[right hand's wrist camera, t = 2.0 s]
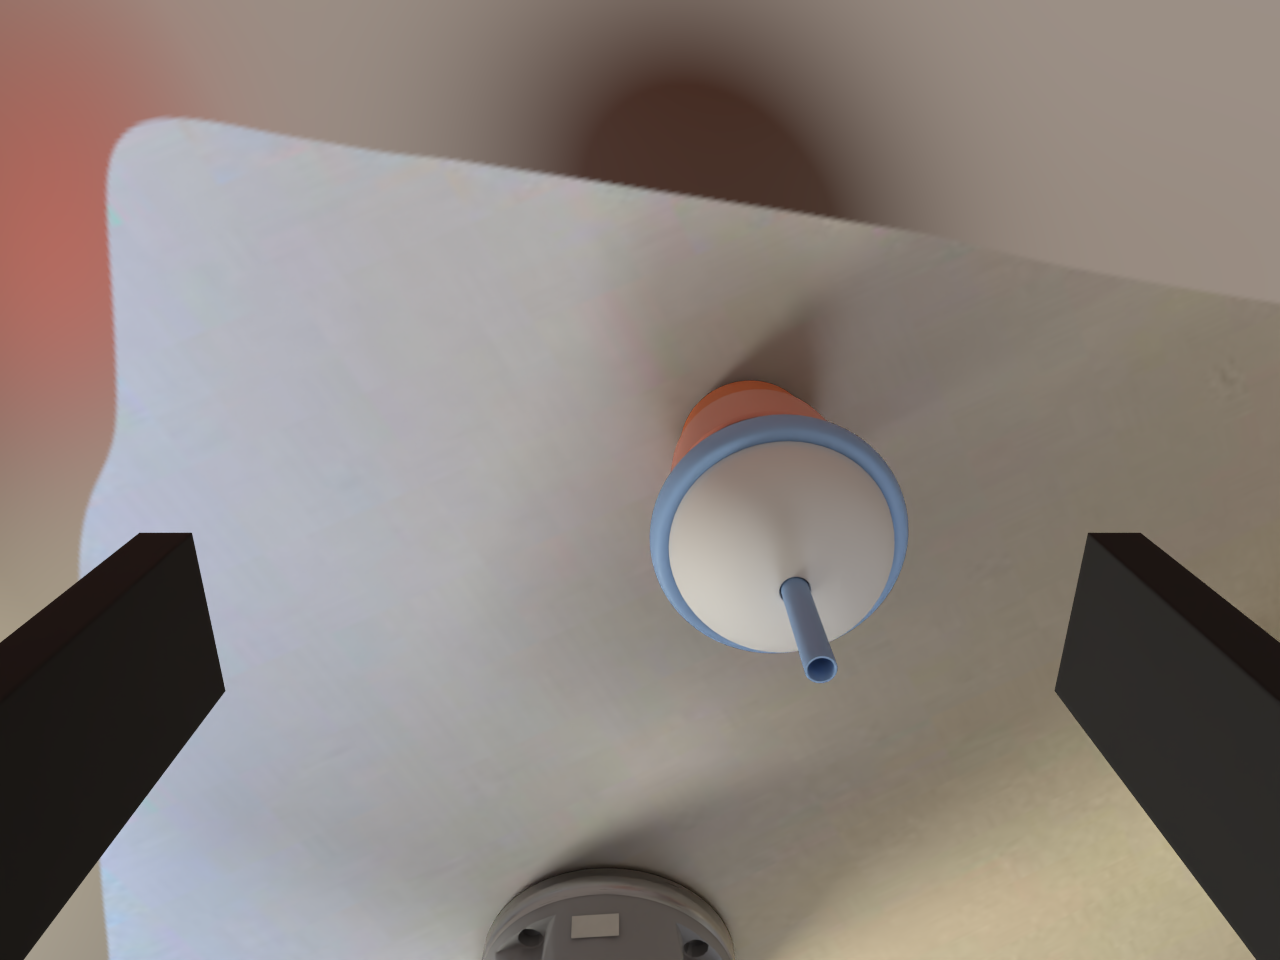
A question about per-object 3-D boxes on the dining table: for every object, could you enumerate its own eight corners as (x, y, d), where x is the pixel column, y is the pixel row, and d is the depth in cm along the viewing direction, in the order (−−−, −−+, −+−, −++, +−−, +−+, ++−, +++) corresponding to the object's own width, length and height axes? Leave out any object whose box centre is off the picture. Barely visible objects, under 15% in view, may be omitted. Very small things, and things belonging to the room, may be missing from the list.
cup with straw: (835, 329, 38) (986, 487, 21) (854, 515, 41) (998, 777, 24) (631, 366, 38) (622, 548, 22) (666, 546, 42) (682, 823, 25)
